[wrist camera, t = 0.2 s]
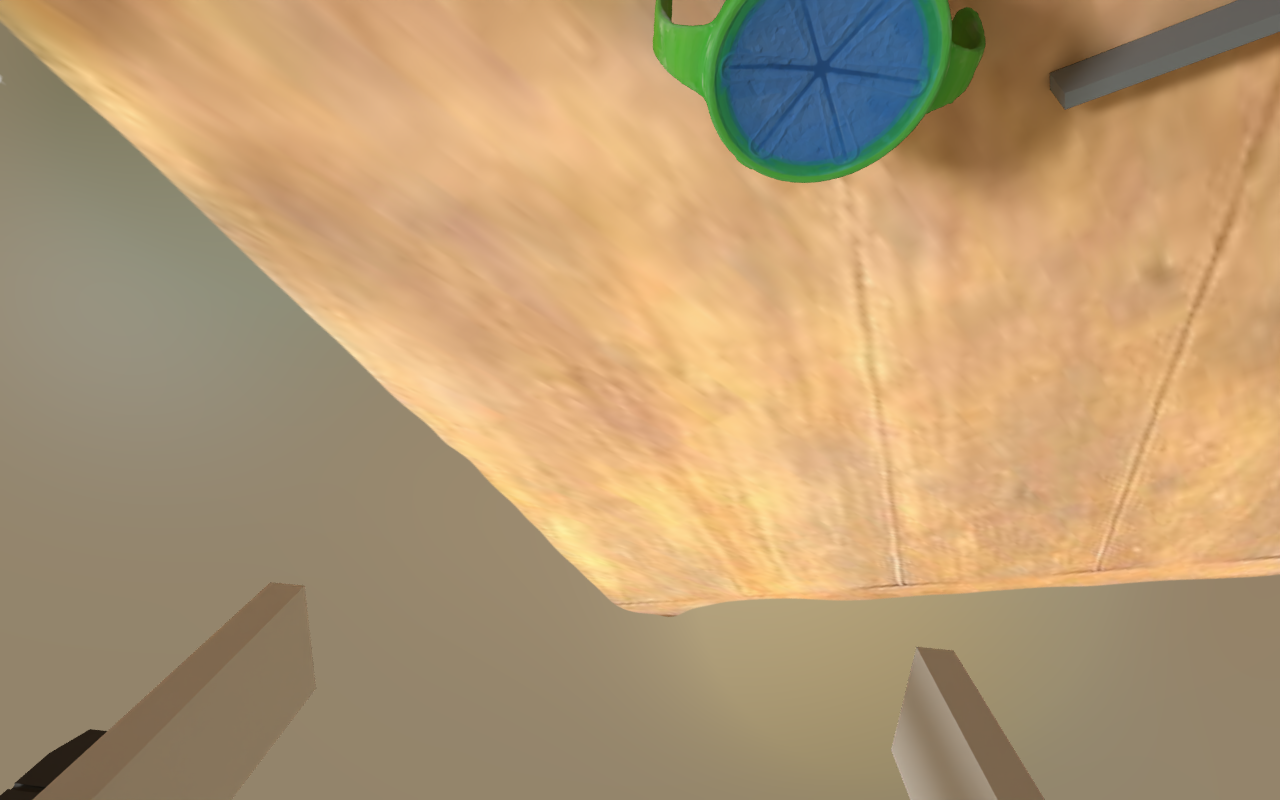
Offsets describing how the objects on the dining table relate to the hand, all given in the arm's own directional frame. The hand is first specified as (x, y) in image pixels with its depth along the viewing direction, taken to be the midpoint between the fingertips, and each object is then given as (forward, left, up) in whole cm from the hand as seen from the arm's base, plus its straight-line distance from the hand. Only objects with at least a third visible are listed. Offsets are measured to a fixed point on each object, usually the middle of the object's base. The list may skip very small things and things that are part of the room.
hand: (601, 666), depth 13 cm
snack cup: (+2, +7, -35) cm, 36 cm away
